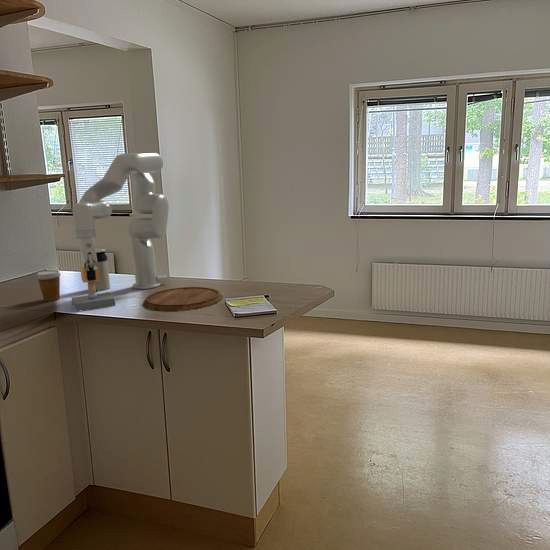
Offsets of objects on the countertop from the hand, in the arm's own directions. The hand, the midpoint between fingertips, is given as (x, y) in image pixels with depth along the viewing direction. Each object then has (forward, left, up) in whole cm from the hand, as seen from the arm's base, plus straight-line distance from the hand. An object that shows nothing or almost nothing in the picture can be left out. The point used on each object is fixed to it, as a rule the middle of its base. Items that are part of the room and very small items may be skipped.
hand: (90, 278), depth 216 cm
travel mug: (-8, -29, -11) cm, 32 cm away
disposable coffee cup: (+14, -21, -11) cm, 28 cm away
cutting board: (-33, +15, -12) cm, 38 cm away
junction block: (0, 0, -11) cm, 11 cm away
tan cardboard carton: (0, 0, -1) cm, 1 cm away
